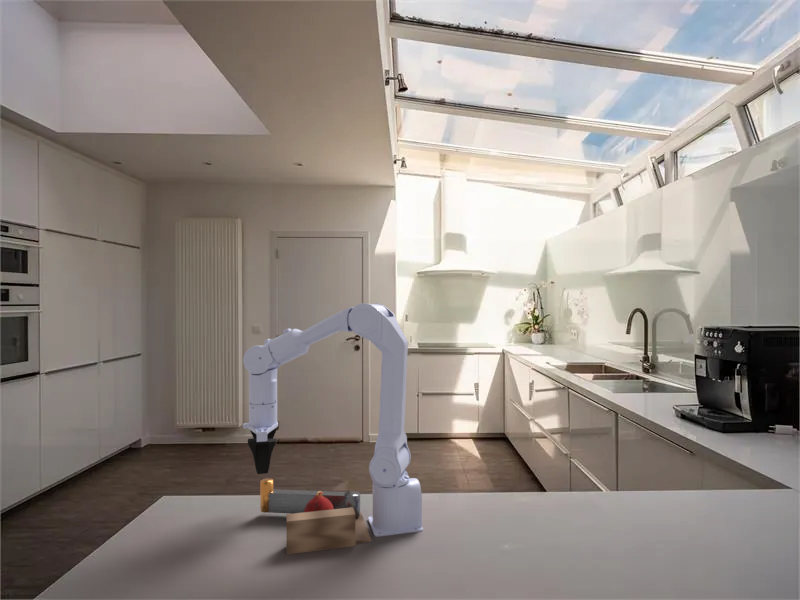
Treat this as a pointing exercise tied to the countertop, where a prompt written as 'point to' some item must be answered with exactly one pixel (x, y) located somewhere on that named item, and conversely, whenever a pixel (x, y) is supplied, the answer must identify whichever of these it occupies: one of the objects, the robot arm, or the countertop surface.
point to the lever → (302, 499)
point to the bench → (325, 530)
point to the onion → (318, 503)
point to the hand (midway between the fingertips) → (263, 467)
